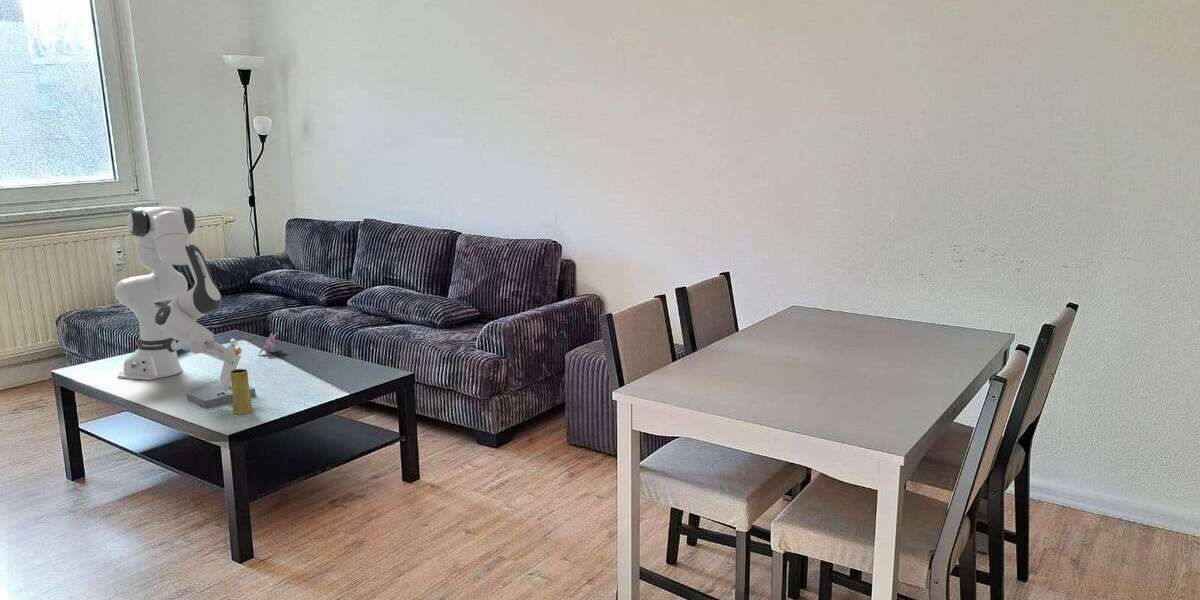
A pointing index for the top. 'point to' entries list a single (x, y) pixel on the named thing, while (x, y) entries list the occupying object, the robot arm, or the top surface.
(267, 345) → the lily
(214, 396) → the console
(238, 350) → the switch
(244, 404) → the vase
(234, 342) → the switch
